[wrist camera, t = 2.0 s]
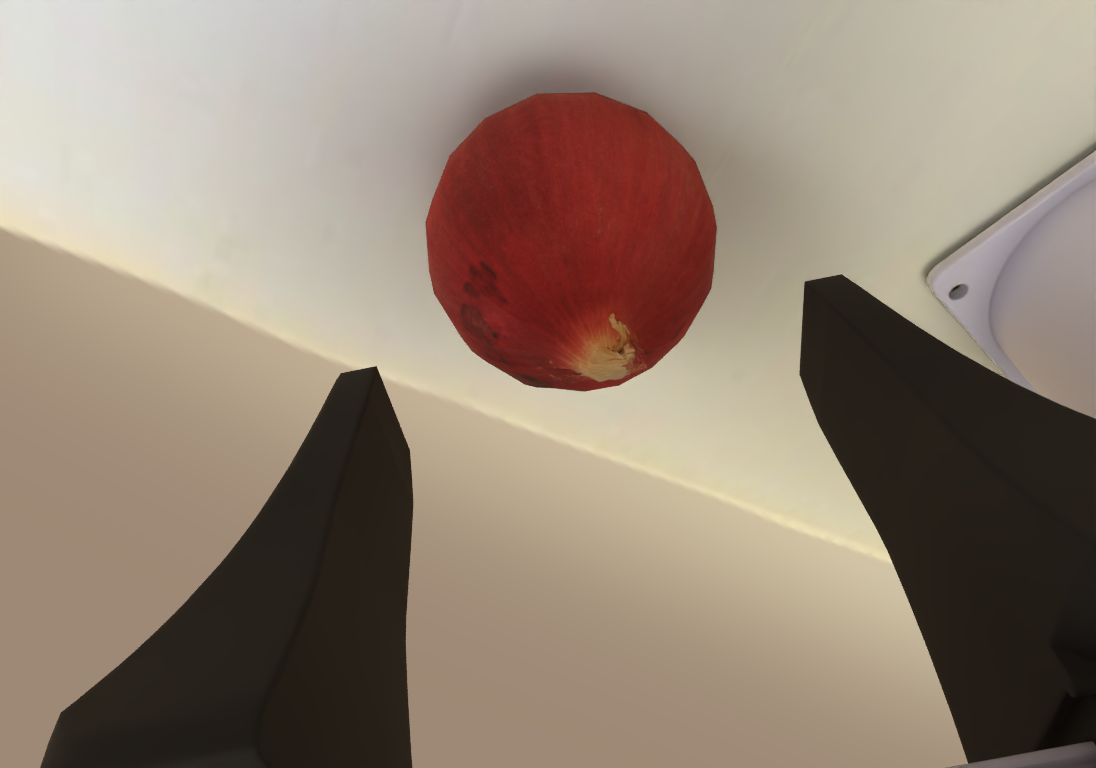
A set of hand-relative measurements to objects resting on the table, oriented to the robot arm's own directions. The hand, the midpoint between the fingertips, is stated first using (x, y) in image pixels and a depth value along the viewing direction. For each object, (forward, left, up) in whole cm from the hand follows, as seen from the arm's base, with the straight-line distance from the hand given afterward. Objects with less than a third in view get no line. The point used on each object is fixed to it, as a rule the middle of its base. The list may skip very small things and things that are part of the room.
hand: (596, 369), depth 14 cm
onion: (0, 0, -8) cm, 8 cm away
